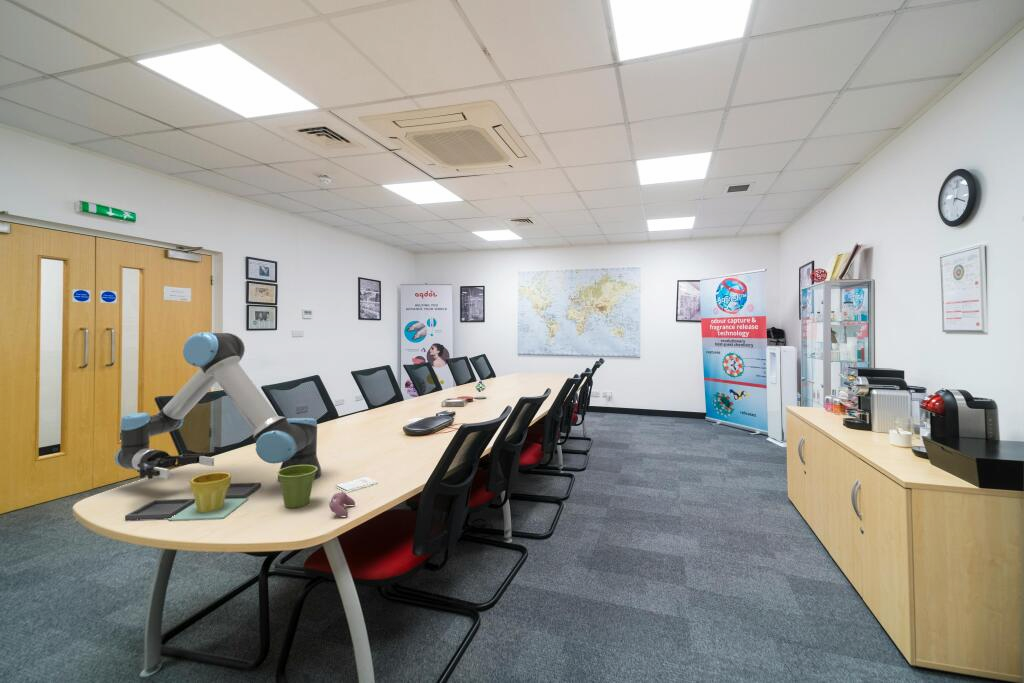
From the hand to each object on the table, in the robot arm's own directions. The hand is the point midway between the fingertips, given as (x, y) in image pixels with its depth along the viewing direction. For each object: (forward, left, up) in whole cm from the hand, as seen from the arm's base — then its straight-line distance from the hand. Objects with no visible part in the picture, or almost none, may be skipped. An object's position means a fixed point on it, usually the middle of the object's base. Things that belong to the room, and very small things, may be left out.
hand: (191, 467), depth 136 cm
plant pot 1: (-10, +7, -11) cm, 16 cm away
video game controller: (-51, +13, -12) cm, 54 cm away
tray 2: (-10, -7, -11) cm, 17 cm away
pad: (-10, +7, -11) cm, 17 cm away
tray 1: (+4, +7, -11) cm, 14 cm away
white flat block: (-50, -11, -12) cm, 53 cm away
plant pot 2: (-35, +5, -12) cm, 37 cm away
